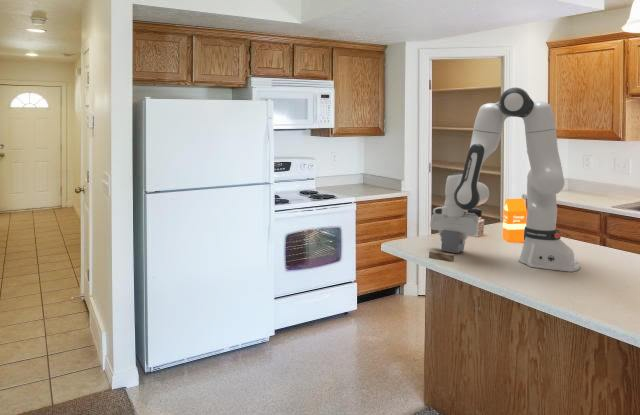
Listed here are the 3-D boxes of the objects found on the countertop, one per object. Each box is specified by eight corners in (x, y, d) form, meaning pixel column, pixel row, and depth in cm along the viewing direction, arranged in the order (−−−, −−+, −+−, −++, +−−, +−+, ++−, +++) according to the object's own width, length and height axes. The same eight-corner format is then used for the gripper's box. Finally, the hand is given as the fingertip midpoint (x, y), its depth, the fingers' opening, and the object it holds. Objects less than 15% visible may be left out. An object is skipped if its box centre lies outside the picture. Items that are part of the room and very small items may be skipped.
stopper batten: (454, 260, 214) (454, 254, 213) (452, 261, 212) (452, 255, 212) (430, 256, 219) (431, 250, 219) (428, 257, 218) (429, 251, 217)
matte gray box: (463, 249, 229) (465, 229, 228) (457, 253, 223) (459, 233, 222) (447, 247, 233) (448, 227, 232) (441, 250, 227) (442, 230, 226)
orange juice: (526, 241, 247) (527, 199, 245) (507, 242, 247) (508, 199, 245) (520, 238, 255) (521, 197, 252) (502, 239, 255) (502, 198, 253)
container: (477, 237, 257) (479, 210, 254) (462, 234, 261) (464, 209, 259) (483, 234, 263) (485, 208, 261) (468, 232, 267) (470, 207, 265)
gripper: (481, 212, 222) (479, 244, 224) (435, 207, 233) (433, 237, 236) (476, 214, 217) (474, 247, 219) (429, 209, 228) (427, 240, 230)
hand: (452, 242), depth 227 cm, fingers closed on matte gray box, 7 cm apart
